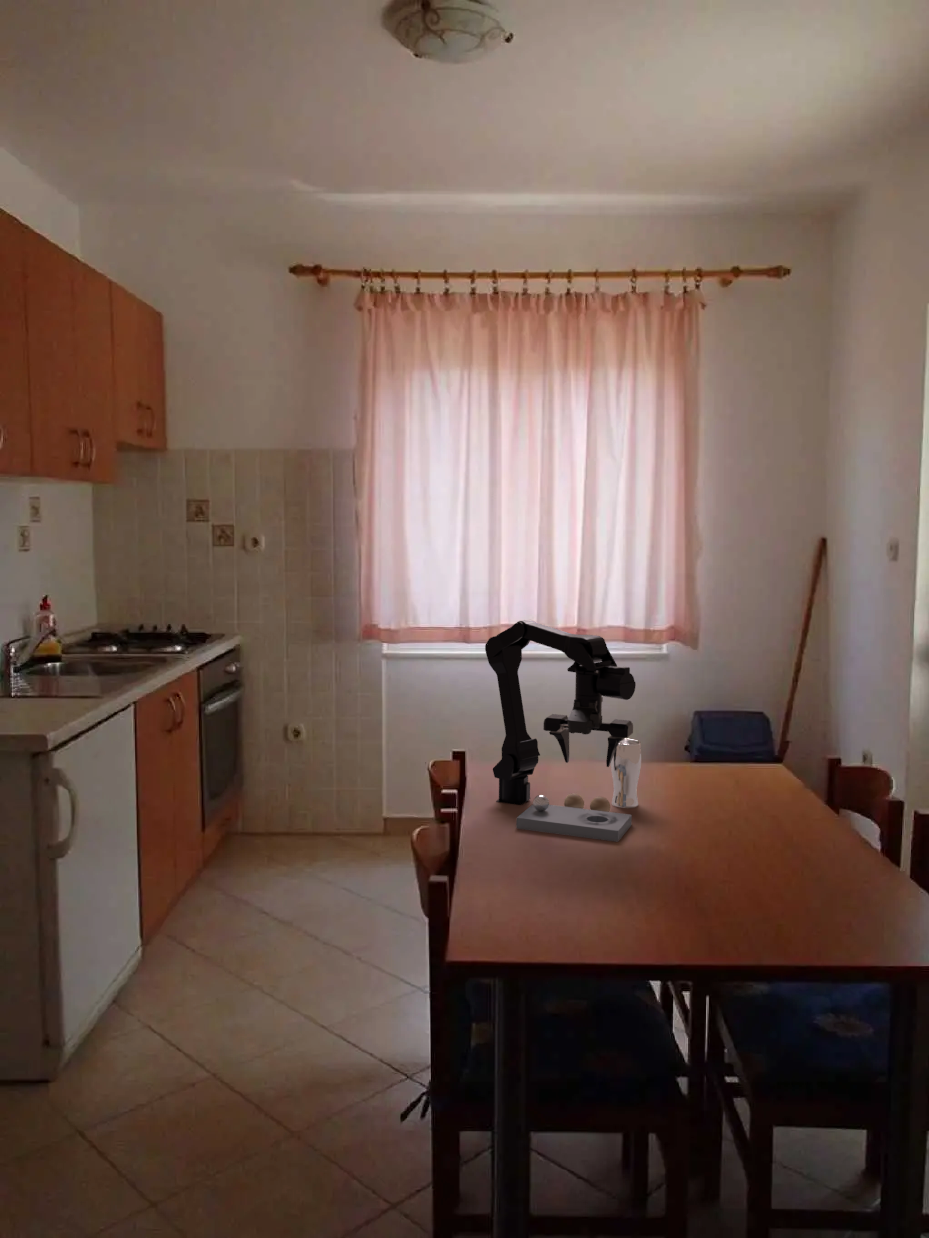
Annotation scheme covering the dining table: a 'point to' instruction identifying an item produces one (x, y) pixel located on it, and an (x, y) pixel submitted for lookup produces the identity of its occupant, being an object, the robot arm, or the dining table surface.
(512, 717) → the robot arm
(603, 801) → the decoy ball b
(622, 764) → the beer glass
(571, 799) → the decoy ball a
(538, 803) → the steel ball
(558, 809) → the plate
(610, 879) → the dining table surface
